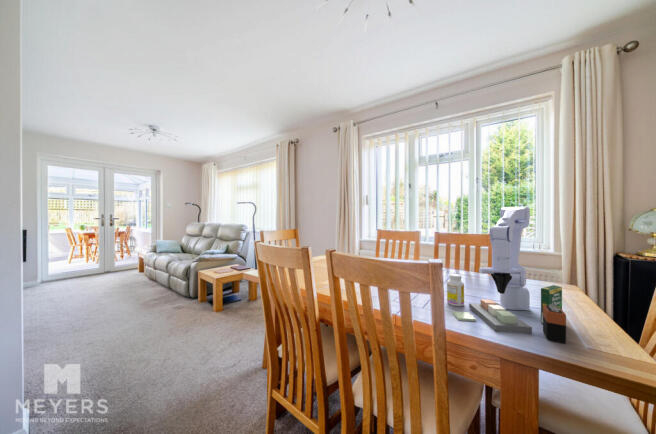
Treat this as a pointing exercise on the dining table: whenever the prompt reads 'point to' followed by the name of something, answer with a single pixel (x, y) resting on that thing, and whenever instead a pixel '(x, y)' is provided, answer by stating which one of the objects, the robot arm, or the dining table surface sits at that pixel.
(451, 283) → the supplement bottle
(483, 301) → the terracotta button
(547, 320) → the battery
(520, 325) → the button board
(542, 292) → the coffee box
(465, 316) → the tile
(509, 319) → the sage button
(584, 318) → the dining table surface
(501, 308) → the cream button
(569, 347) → the dining table surface
